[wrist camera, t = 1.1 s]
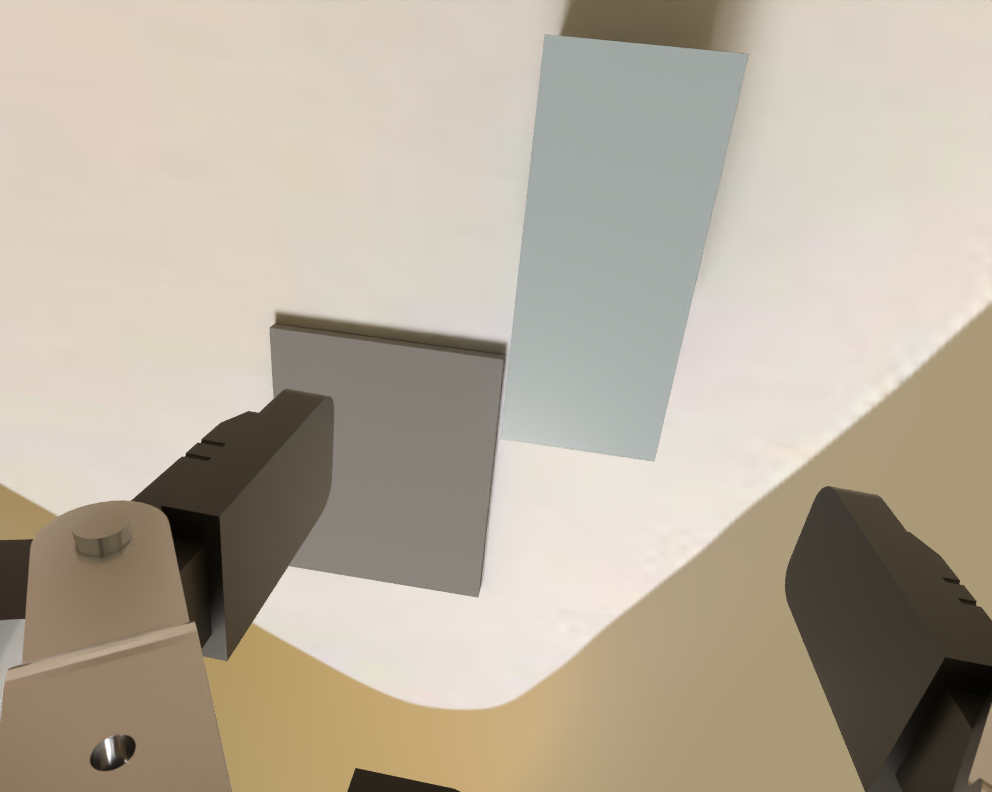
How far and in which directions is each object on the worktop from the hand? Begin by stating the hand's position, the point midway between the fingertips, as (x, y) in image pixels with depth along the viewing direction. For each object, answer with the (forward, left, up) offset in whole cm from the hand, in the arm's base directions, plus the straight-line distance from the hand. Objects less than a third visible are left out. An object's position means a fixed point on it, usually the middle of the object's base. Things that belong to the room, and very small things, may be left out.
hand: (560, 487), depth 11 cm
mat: (+12, -8, -19) cm, 24 cm away
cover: (-1, +1, -19) cm, 19 cm away
